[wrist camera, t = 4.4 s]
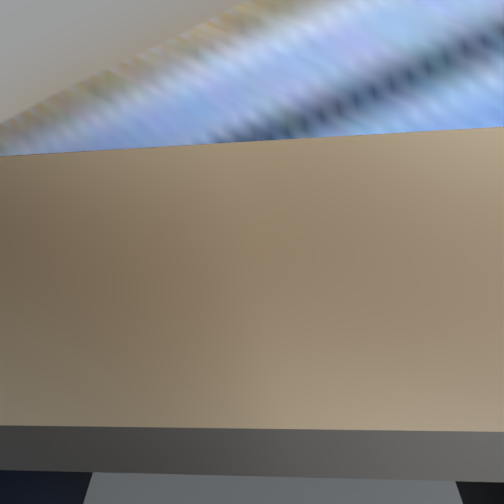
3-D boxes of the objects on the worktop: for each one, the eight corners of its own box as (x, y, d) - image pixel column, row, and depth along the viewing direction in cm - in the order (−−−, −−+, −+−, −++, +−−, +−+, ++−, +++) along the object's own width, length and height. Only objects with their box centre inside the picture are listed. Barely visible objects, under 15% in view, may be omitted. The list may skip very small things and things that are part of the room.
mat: (506, 489, 15) (515, 498, 15) (22, 729, 16) (13, 747, 16) (317, 167, 17) (319, 163, 16) (-107, 403, 18) (-120, 407, 18)
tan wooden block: (339, 310, 15) (646, 484, 3) (206, 312, 16) (-99, 467, 3) (336, 248, 16) (605, 120, 3) (205, 252, 16) (-82, 161, 3)
